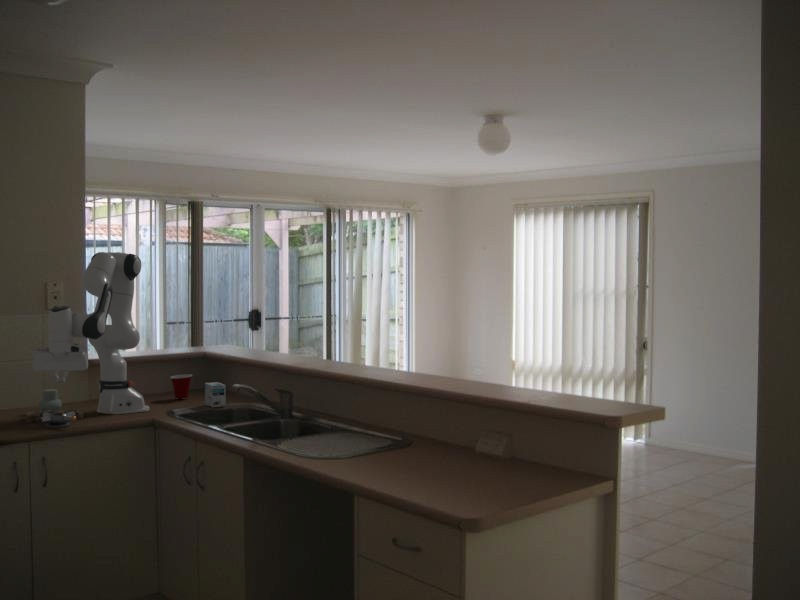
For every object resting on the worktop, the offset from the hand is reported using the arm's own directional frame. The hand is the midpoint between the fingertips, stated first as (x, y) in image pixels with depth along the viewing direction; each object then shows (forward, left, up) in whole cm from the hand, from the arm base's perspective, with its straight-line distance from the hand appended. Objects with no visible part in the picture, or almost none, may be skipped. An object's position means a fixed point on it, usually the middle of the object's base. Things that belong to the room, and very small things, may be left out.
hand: (60, 381), depth 302 cm
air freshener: (+4, -40, -19) cm, 44 cm away
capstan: (+1, -6, -18) cm, 19 cm away
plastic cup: (-55, -57, -19) cm, 81 cm away
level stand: (+2, -24, -19) cm, 31 cm away
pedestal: (+1, -6, -19) cm, 20 cm away
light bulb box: (-67, -32, -19) cm, 77 cm away
